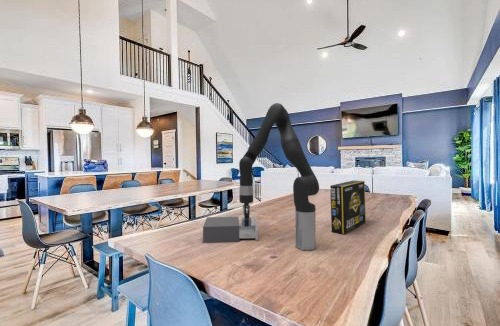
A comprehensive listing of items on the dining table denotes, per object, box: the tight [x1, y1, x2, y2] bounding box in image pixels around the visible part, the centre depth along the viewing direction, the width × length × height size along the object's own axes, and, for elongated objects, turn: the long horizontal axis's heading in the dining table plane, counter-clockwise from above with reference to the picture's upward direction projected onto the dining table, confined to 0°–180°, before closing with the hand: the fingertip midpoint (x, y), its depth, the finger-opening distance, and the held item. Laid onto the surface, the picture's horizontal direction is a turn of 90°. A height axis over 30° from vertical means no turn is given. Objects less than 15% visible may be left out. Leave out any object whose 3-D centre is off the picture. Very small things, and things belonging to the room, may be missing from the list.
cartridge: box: [241, 216, 252, 227], centre depth 139 cm, size 4×5×4 cm
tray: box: [239, 215, 259, 241], centre depth 139 cm, size 18×20×8 cm
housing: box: [202, 216, 240, 244], centre depth 138 cm, size 18×20×8 cm
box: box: [329, 180, 367, 235], centre depth 153 cm, size 34×8×27 cm, turn 137°
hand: (246, 224), depth 139 cm, fingers closed on cartridge, 4 cm apart
